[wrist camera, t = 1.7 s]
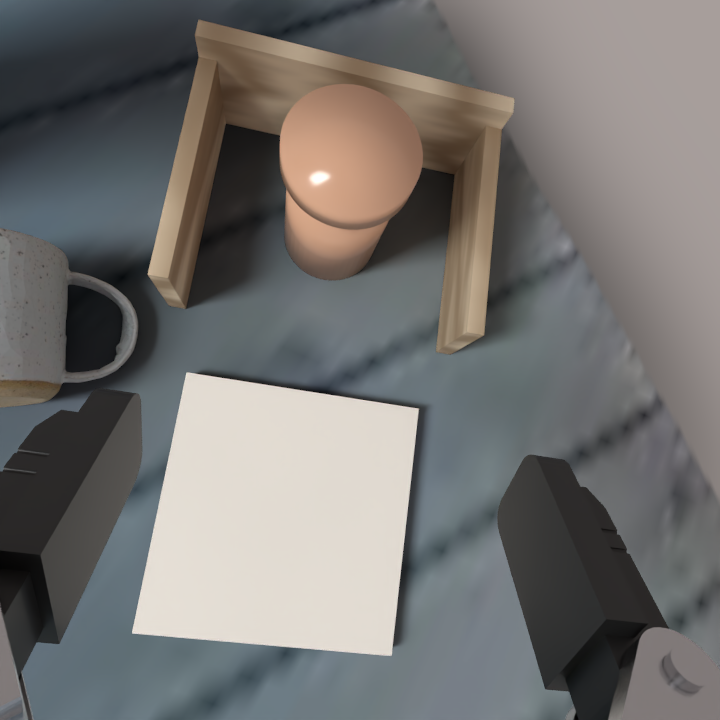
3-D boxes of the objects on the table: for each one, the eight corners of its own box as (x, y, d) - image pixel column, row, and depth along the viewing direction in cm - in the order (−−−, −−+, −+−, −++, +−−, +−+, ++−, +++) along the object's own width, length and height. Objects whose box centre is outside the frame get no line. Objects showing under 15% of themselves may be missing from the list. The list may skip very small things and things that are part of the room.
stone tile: (136, 627, 28) (132, 633, 27) (189, 375, 30) (186, 372, 29) (387, 649, 29) (391, 656, 28) (414, 410, 32) (418, 408, 31)
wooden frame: (169, 305, 31) (140, 263, 24) (213, 107, 34) (198, 19, 27) (450, 354, 33) (495, 328, 27) (469, 165, 36) (514, 98, 30)
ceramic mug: (-59, 419, 28) (-175, 405, 20) (-57, 277, 29) (-166, 215, 22) (146, 398, 30) (108, 379, 23) (139, 267, 31) (101, 208, 24)
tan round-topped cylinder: (269, 275, 32) (268, 198, 23) (287, 180, 34) (292, 69, 24) (373, 294, 33) (414, 228, 24) (386, 201, 35) (429, 102, 25)
